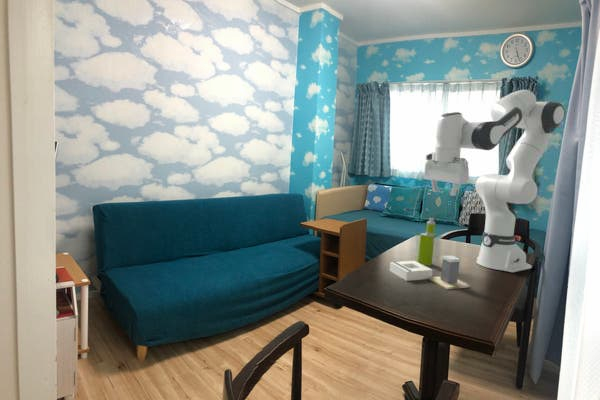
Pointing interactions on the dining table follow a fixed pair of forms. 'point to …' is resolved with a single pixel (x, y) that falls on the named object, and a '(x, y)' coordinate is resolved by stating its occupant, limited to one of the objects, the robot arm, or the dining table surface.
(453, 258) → the plug
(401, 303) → the dining table surface
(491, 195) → the robot arm
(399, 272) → the white flat square piece
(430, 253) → the vape
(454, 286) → the coaster
